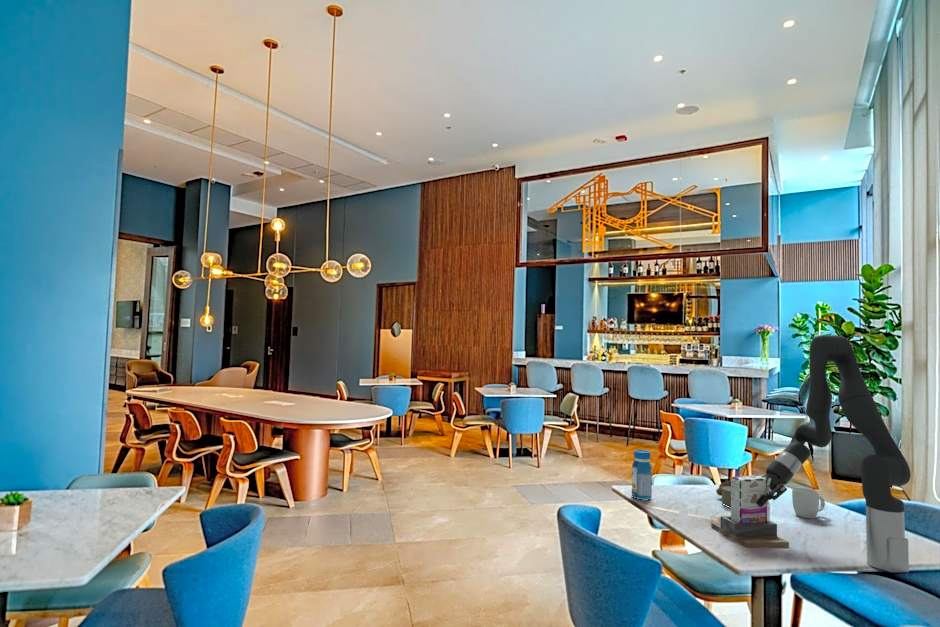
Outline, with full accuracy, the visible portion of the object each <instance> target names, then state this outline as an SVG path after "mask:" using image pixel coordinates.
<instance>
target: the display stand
mask: <svg viewBox="0 0 940 627" xmlns="http://www.w3.org/2000/svg"><path fill="white" fill-rule="evenodd" d="M710 524H711V526H710V527H711V528H712V529H714V530H715V531H717V532H719V533H721V534H723V535H725V536H726V537H728V538H730V539H732V540H734V541H735V542H737V543H739V544H741V545H742V546H744V547H746V548H786V547H787V548H788V547H790V541H788V540H786V539H784V538H781V537H780V536H778V524H777V523H775V522H774V521H772V520H769V519H767V523H736V522H734V521H732V520H731V515H729V516H728V515H721V516H720V522H711V523H710Z"/></svg>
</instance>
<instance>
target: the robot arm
mask: <svg viewBox="0 0 940 627" xmlns="http://www.w3.org/2000/svg"><path fill="white" fill-rule="evenodd" d="M828 362H829V363H830V362H831V363H834V364H835V366H836V368H837V370H838V372H839V376H840V383H839V387H838V391H837V392H838V394H837V399H838V403H839V405H840V407H841V409H842V411H843V415H844V416H845V419H846V420H847V421H848V422H849V423H850V424H851V425H852V427H853V428H855V430H856V431H858V432H859V433H860V434H861V435H862V436H863V437H864V438H865V439H866V441H868V442H869V443H870V445H871V447H872V448H873V450H874V453H875V454H868V455H865V456H864V457H863V458H862V461H861V465H860V476H861V486H862V487H861V489H862V496H863V497H864V500H865V522H866V523H865V524H866V525H865V526H866V530H865V532H866V534H865V535H866V536H865V537H866V562H867V564H868V565H869V566H871V567H873V568H876V569H880V570H884V571H886V572H889V573H909V572H910V563H909V562H910V561H909V559H910V557H909V553H910V552H909V539H908V538H906V534H905V532H906V531H905V530H906V529H905V527H906V526H905V504H904V502H903V500H901V499H899V498H897V497H894V495H892V490H891V487H892V486H894V487H896V486H899V487H900V486H905V485H907V484H908V483H909V482H910V480H911V476H912V475H911V470H910V466H909V464H908V462H907V460H906V458H905V456H904V455H903V453H902V452H901V450H900V448H899V446H898V445H897V444H896V442H895V440H894V438H893V437H892V435H891V433H890V431H889V429H888V427H887V426H886V423H885V421H884V418H883V417H882V415H881V413H880V411H879V407H878V405H877V404H876V402H875V399H874V397H873V395H872V393H871V391H870V390H869V387H868V386H867V383H866V381H865V379H864V377H863V374H862V372H861V370H860V367H859V364H858V360H857V358H856V355H855V351H854V348H853V347H852V344H851V343H850V341H849V340H848V338H846V337H845V336H843V335H836V334H835V335H834V334H819V335H816V336H814V337H813V339H812V340H811V342H810V345H809V388H808V389H809V390H808V398H807V403H806V407H805V414H806V416H807V417H809V418H810V419H811V420H812V421H813V422H814V423H813V422H810V421H803V422H801V423H800V424H798V425H797V427H796V428H795V431H794V434H793V435H792V439H791V441H790V442H789V444H788V445H787V446H786V447H785V448H784V449H783V451H781V452H780V453H779V454H778V455H777V456H776V457H775V459H773V461H772V462H770V464H768V466H767V467H766V468H765V471H766V473H765V474H764V475H762V476H761V477H763V478H766V479H767V486H766V487H765V492H764V495H762V496H761V497H760V498H759V499H758V500H757V501H756V504H757V505H758V506H759V507H762V506H763V505H764V504H765V503H766V502H767V503H768V501H770V500H773V501H776V500H777V499H778V498H779V497H781V496H782V495H783V494H784V493H785V492H787V490H788V488H787V487H786V486H785V485H787V484H788V483H789V482H790V481H791V480H792V478H794V476H795V475H796V474H797V473H798V472H799V470H800V468H801V467H802V466H803V465H804V464H805V462H806V461H807V460H808V459H809V458H810V456H811V454H812V452H811V451H810V449H809V448H808V446H806V445H805V444H806V443H808V444H810V445H812V446H815V447H817V448H825V447H827V446H828V445H830V443H831V440H832V428H831V426H832V425H831V420H830V413H831V407H832V402H833V393H832V391H831V388H830V385H829V382H828V379H827V372H826V371H827V370H826V369H827V365H828ZM756 475H757V476H760V475H759V474H756Z"/></svg>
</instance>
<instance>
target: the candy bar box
mask: <svg viewBox="0 0 940 627" xmlns="http://www.w3.org/2000/svg"><path fill="white" fill-rule="evenodd" d="M757 475H758V474H755V475H740V476H737V475H736V476H730V481H731V508H730V516H731V520H732V521H734V522H736V523H767V520H768V515H767V514H768V501H767V502H766V503H765V504H764V505H763V506H762V507H759V506H758V505H757V504H756V501H757V500H758V499H759V498H760V497H761V496H762V495H764V492H765V487H766V486H767V479H766V478H763V477H762V476H761V475H759V476H757Z"/></svg>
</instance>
